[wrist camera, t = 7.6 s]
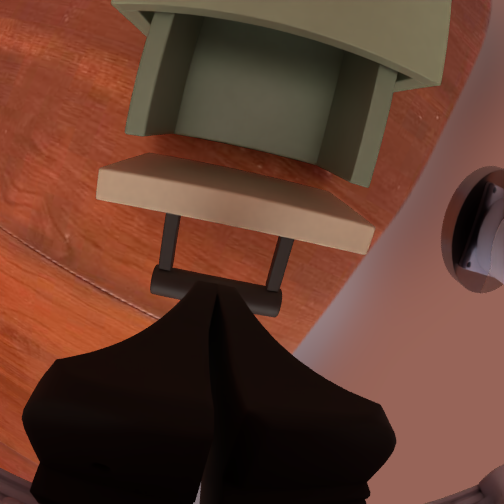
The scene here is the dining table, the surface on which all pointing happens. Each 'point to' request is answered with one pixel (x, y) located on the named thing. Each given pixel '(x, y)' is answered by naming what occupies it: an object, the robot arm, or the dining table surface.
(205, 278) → the drawer
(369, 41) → the cabinet
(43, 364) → the dining table surface
